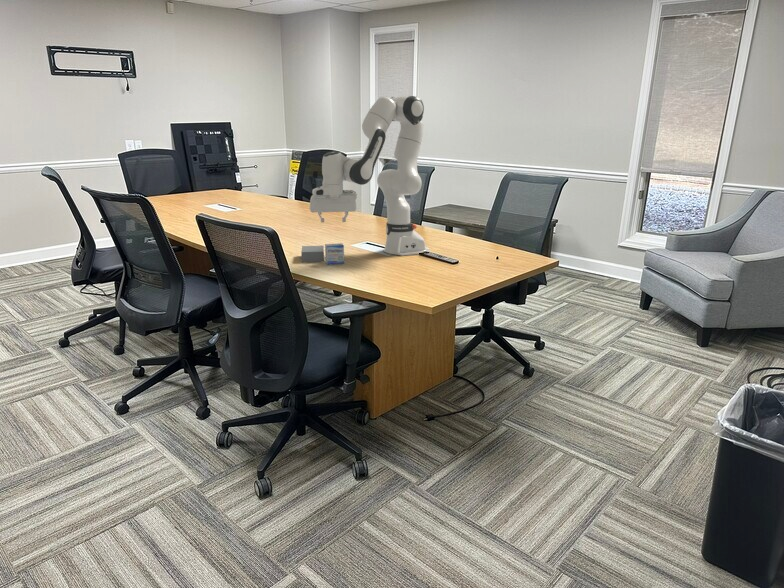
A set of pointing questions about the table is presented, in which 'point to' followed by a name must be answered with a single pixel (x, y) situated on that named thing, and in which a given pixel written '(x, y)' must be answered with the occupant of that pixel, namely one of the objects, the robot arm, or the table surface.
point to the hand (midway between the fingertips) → (333, 222)
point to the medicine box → (334, 253)
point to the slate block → (312, 253)
